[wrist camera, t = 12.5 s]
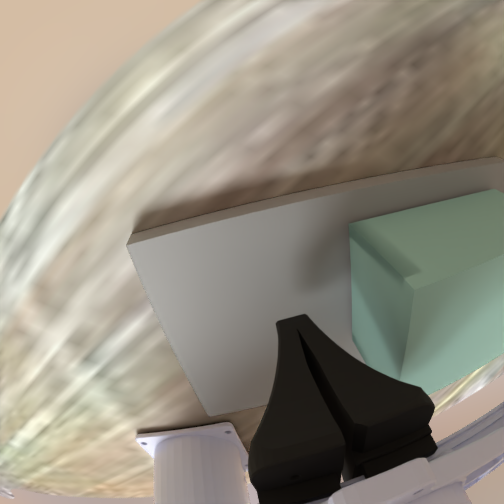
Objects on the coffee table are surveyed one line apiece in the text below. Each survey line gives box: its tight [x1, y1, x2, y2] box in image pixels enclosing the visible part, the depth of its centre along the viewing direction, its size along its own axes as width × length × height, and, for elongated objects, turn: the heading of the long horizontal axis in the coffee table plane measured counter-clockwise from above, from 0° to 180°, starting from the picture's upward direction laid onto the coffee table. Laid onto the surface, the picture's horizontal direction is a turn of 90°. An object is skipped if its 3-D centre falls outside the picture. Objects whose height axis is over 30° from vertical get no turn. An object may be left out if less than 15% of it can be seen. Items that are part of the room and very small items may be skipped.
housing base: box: [126, 157, 504, 417], centre depth 16 cm, size 13×22×4 cm, turn 101°
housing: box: [348, 189, 504, 395], centre depth 13 cm, size 7×10×5 cm
